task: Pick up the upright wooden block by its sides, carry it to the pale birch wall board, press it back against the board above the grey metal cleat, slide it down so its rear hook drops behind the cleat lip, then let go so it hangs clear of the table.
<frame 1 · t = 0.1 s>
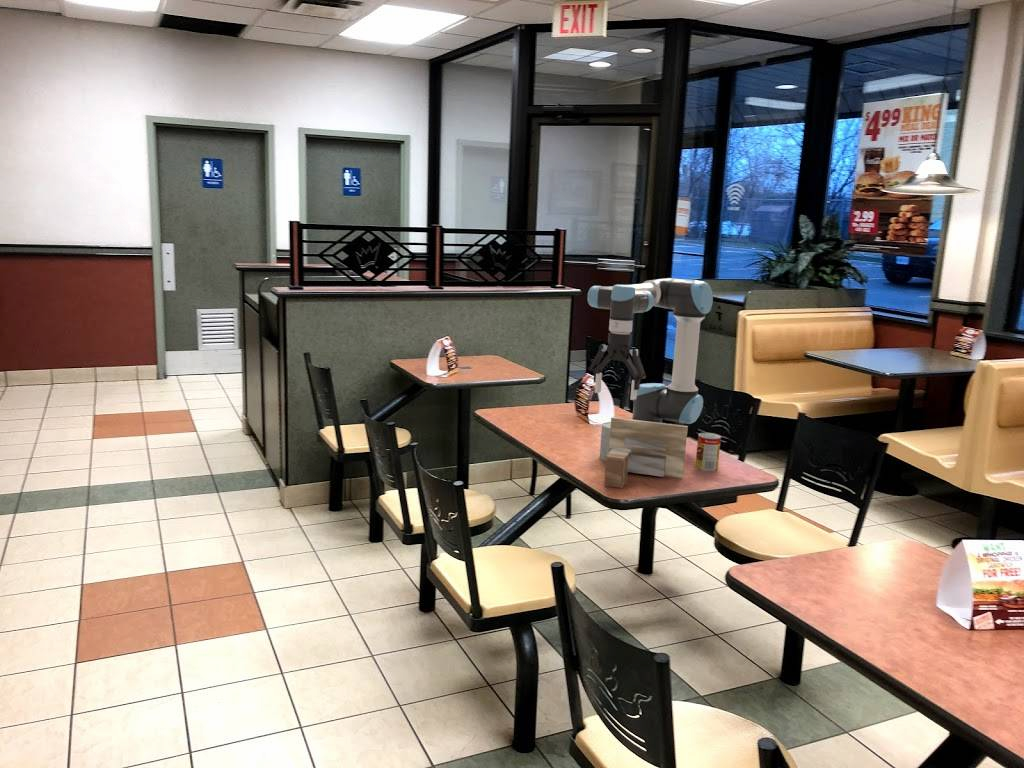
hand: (615, 395, 276), 28 cm above the table, fingers open, 13 cm apart
wall board: (644, 472, 288), on the table
upright wooden block: (615, 483, 274), on the table
canned food: (706, 468, 297), on the table
grey-green block: (612, 458, 303), on the table
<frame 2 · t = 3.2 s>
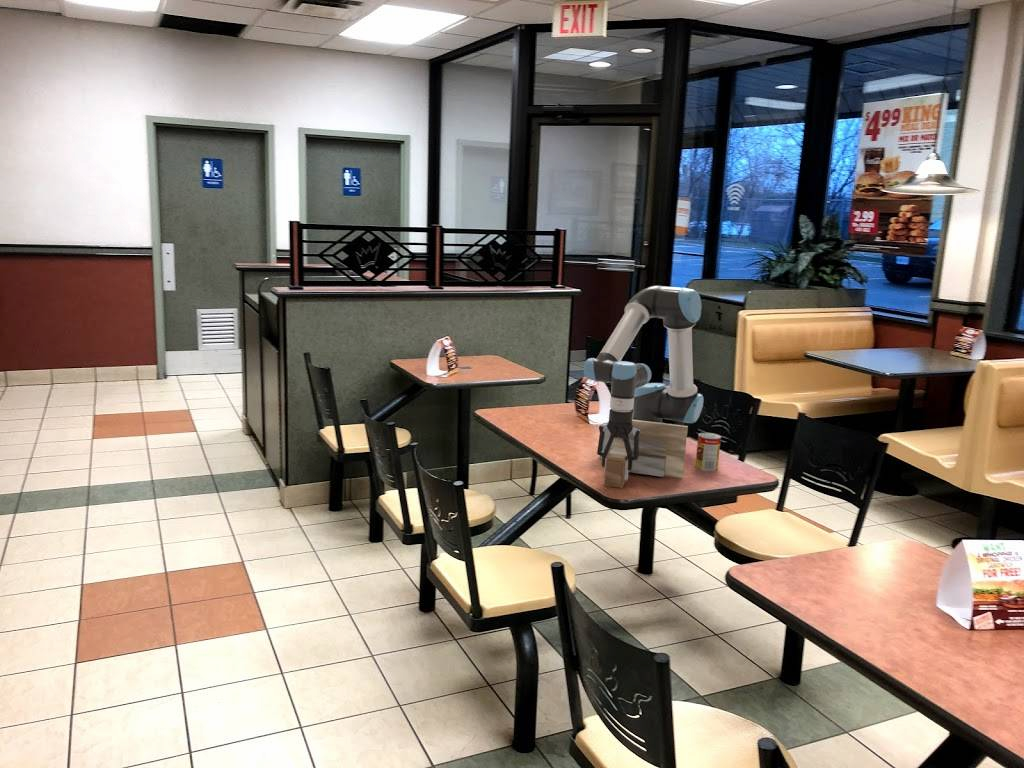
hand: (616, 477, 274), 2 cm above the table, fingers closed on upright wooden block, 6 cm apart
upright wooden block: (615, 483, 274), on the table, touching gripper
everything else where it was.
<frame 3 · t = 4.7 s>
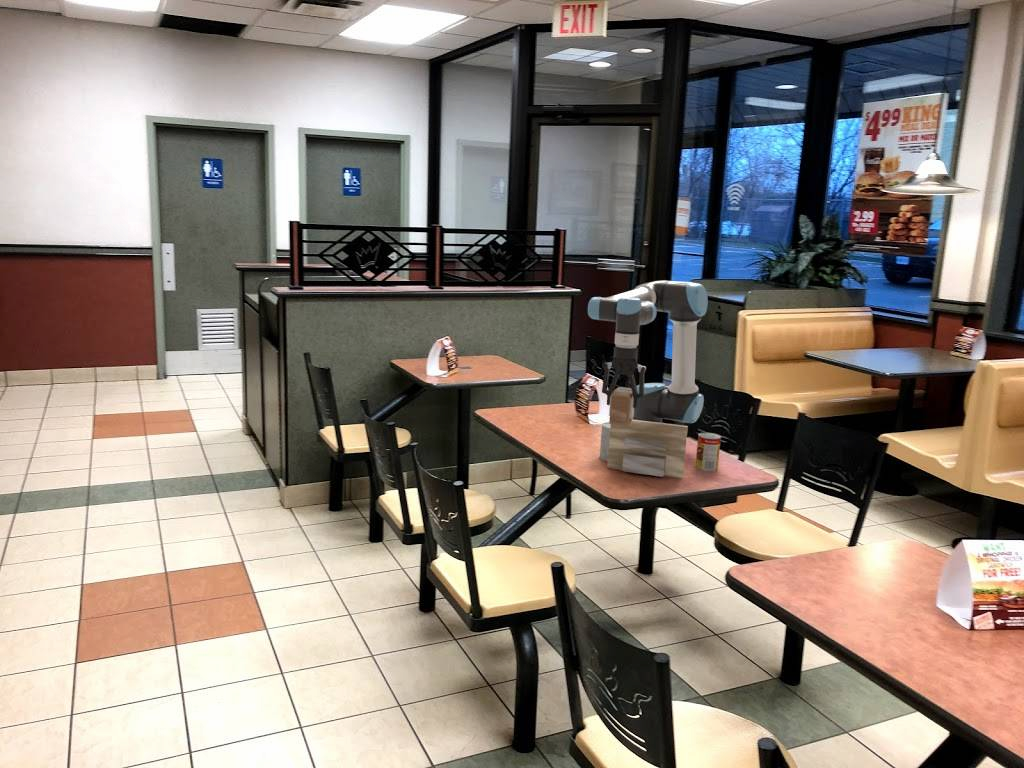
hand: (621, 416, 270), 23 cm above the table, fingers closed on upright wooden block, 6 cm apart
upright wooden block: (620, 422, 270), point 21 cm above the table, touching gripper
everything else where it was.
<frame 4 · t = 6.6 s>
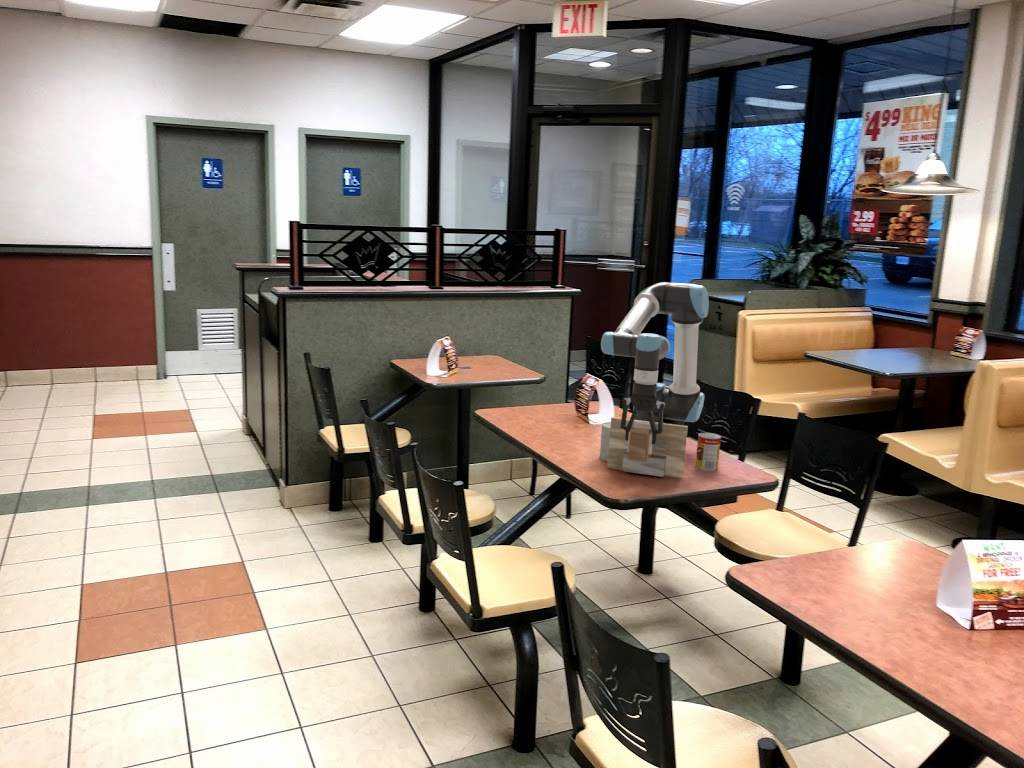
hand: (639, 451, 270), 12 cm above the table, fingers closed on upright wooden block, 6 cm apart
upright wooden block: (639, 457, 270), point 10 cm above the table, touching gripper
everything else where it was.
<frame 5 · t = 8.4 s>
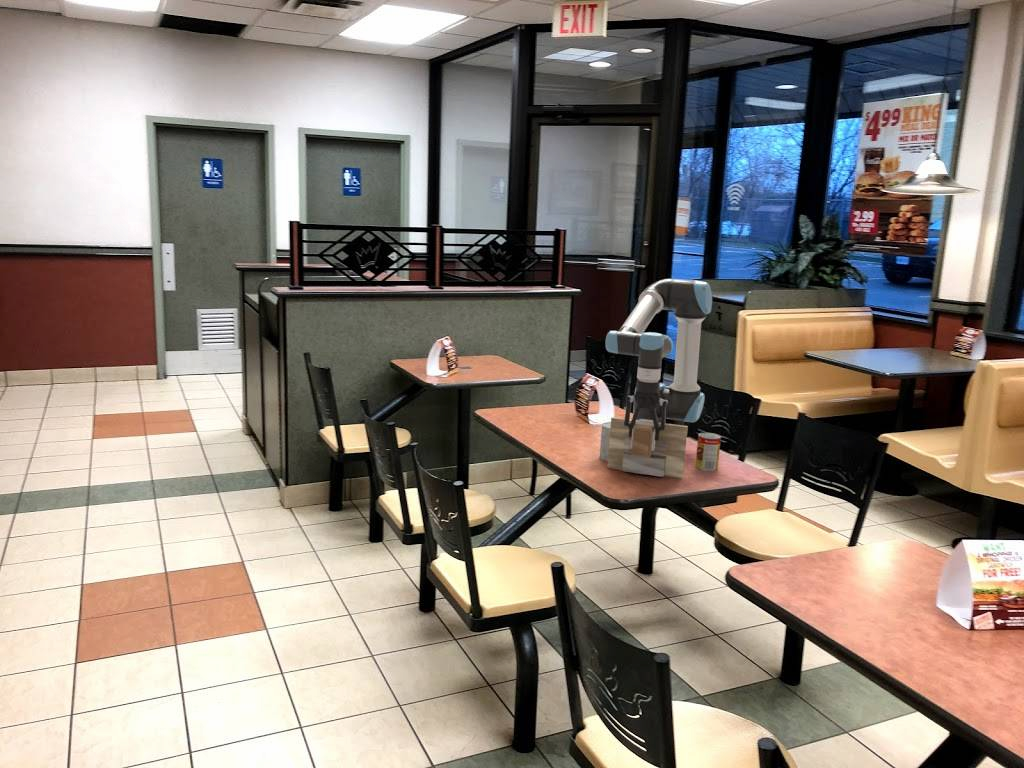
hand: (642, 448, 276), 11 cm above the table, fingers closed on upright wooden block, 6 cm apart
upright wooden block: (642, 453, 276), point 9 cm above the table, touching gripper
everything else where it was.
when the fingers open (7 cm above the table, at t = 10.2 s): upright wooden block drops 2 cm, resting on wall board.
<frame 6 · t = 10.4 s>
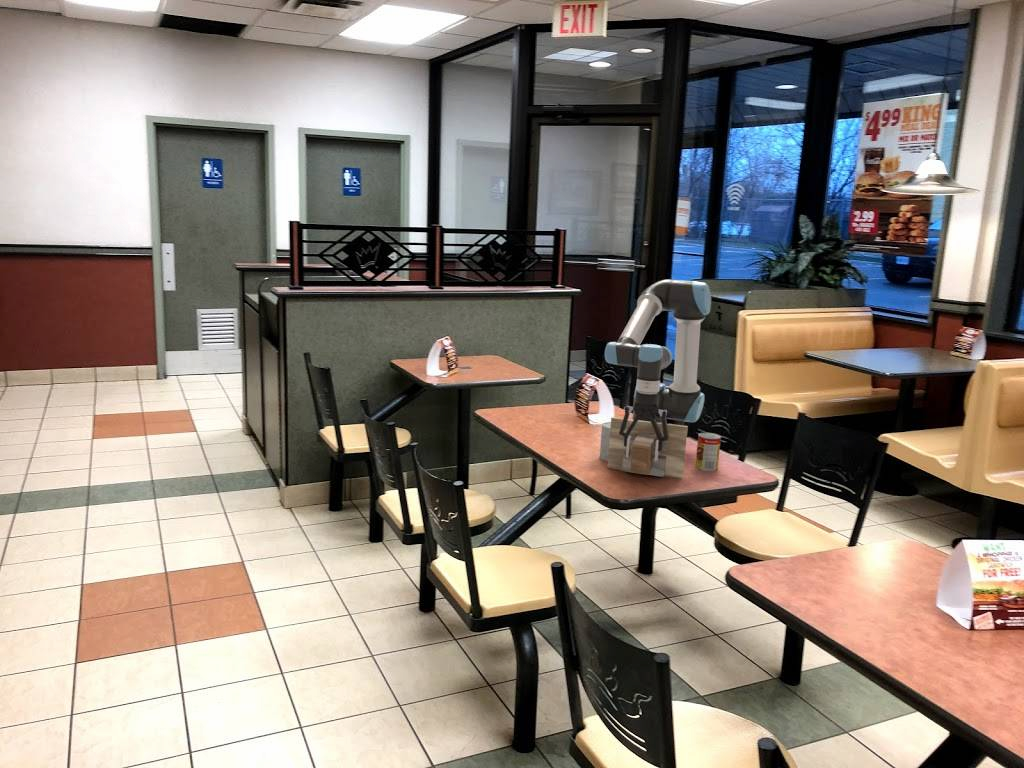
hand: (641, 457, 277), 8 cm above the table, fingers open, 9 cm apart
upright wooden block: (641, 469, 278), point 4 cm above the table, touching wall board
everything else where it was.
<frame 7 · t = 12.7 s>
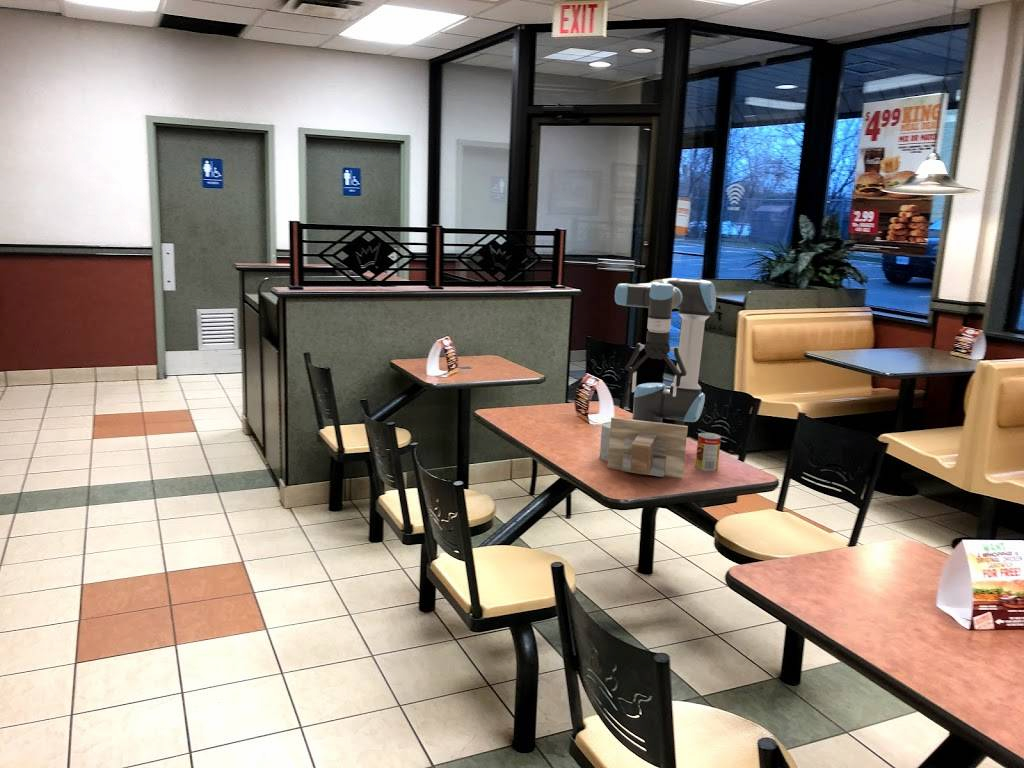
hand: (653, 393, 277), 29 cm above the table, fingers open, 13 cm apart
nothing on the table moved.
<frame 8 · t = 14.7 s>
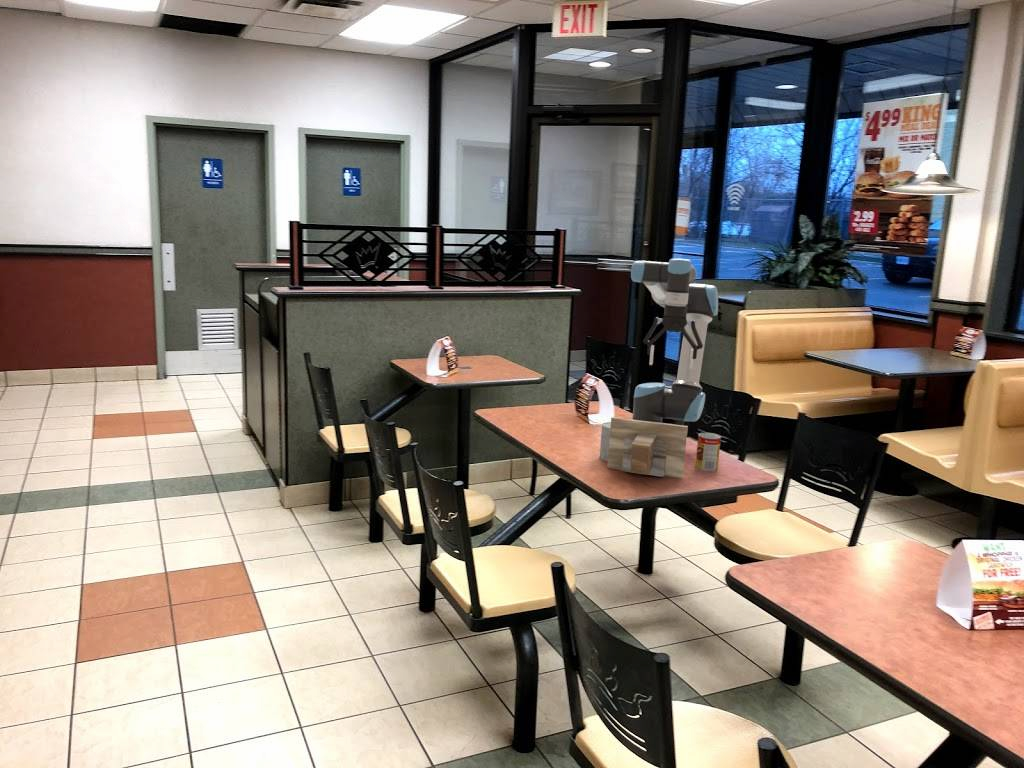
hand: (670, 366, 286), 37 cm above the table, fingers open, 13 cm apart
nothing on the table moved.
at the end: upright wooden block inside the target area (0.8 cm from its centre), point 3.7 cm above the table; upright wooden block touching wall board; upright wooden block tilted 4° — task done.
